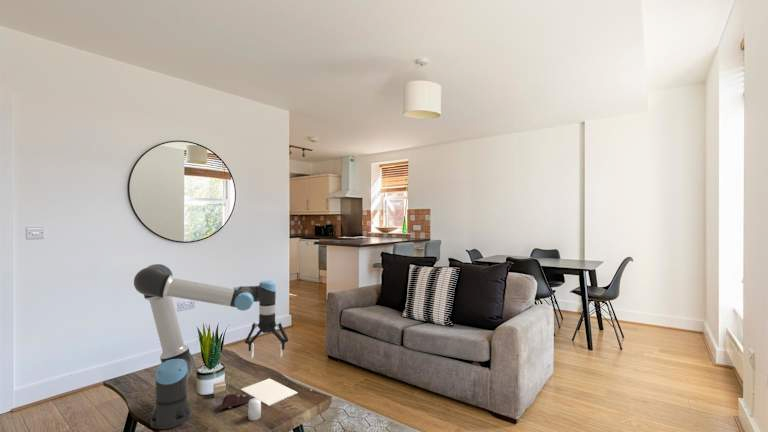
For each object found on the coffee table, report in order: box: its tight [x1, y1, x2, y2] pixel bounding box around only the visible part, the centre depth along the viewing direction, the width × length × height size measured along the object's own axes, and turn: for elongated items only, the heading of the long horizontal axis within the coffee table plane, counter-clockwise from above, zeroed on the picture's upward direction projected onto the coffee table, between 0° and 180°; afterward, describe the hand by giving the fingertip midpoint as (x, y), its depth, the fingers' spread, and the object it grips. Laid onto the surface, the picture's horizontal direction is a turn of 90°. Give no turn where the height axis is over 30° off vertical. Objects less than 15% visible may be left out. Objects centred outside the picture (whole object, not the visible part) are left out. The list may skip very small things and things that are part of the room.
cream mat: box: [240, 378, 298, 407], centre depth 183 cm, size 24×16×1 cm, turn 50°
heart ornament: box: [220, 392, 252, 410], centre depth 170 cm, size 6×12×11 cm
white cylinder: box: [247, 397, 262, 422], centre depth 160 cm, size 5×5×7 cm
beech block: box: [213, 380, 227, 399], centre depth 181 cm, size 5×5×5 cm
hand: (266, 357), depth 183 cm, fingers open, 13 cm apart
